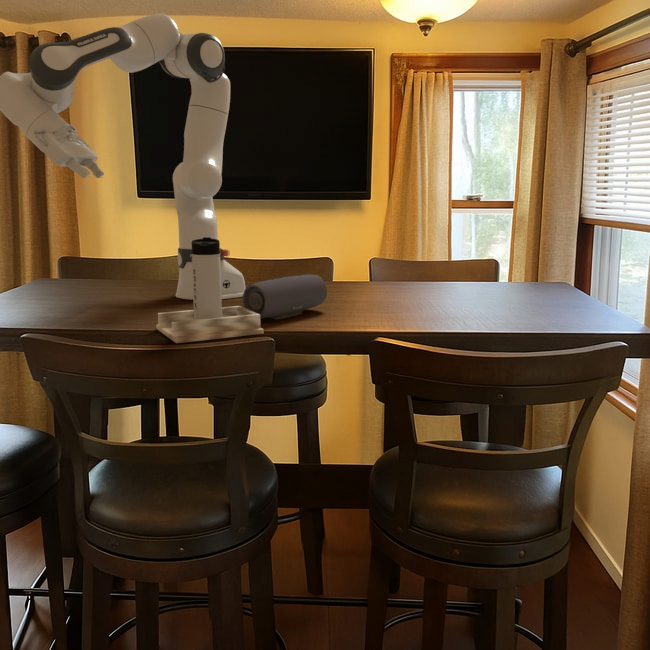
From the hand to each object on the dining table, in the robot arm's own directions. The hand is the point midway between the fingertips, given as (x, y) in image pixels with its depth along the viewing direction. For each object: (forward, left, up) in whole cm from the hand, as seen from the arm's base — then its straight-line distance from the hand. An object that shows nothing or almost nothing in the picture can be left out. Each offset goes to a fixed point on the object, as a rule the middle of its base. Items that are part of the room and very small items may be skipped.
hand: (94, 176), depth 163 cm
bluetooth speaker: (-41, +18, -35) cm, 57 cm away
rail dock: (-18, +26, -34) cm, 47 cm away
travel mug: (-18, +25, -34) cm, 46 cm away
